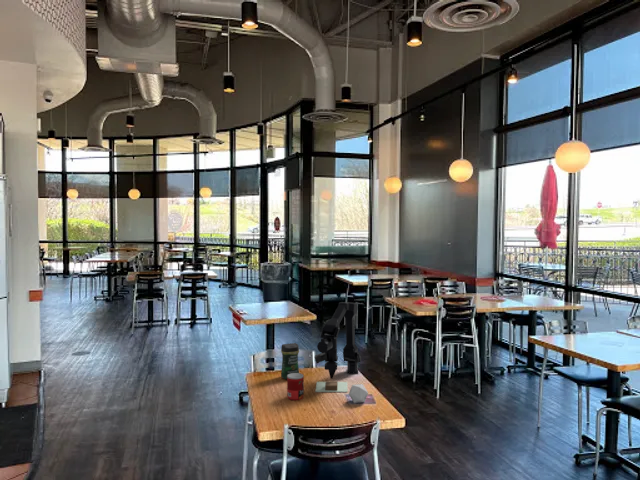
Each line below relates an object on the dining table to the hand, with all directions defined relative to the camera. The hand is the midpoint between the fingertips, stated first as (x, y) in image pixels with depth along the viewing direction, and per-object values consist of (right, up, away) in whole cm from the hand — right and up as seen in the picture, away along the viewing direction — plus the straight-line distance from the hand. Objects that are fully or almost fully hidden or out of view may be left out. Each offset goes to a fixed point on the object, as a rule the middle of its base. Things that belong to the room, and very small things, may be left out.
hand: (331, 378), depth 239 cm
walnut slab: (0, -3, +1) cm, 3 cm away
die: (+12, -5, -19) cm, 23 cm away
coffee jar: (-22, -5, +17) cm, 28 cm away
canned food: (-18, -6, -14) cm, 23 cm away
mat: (0, -5, 0) cm, 5 cm away
